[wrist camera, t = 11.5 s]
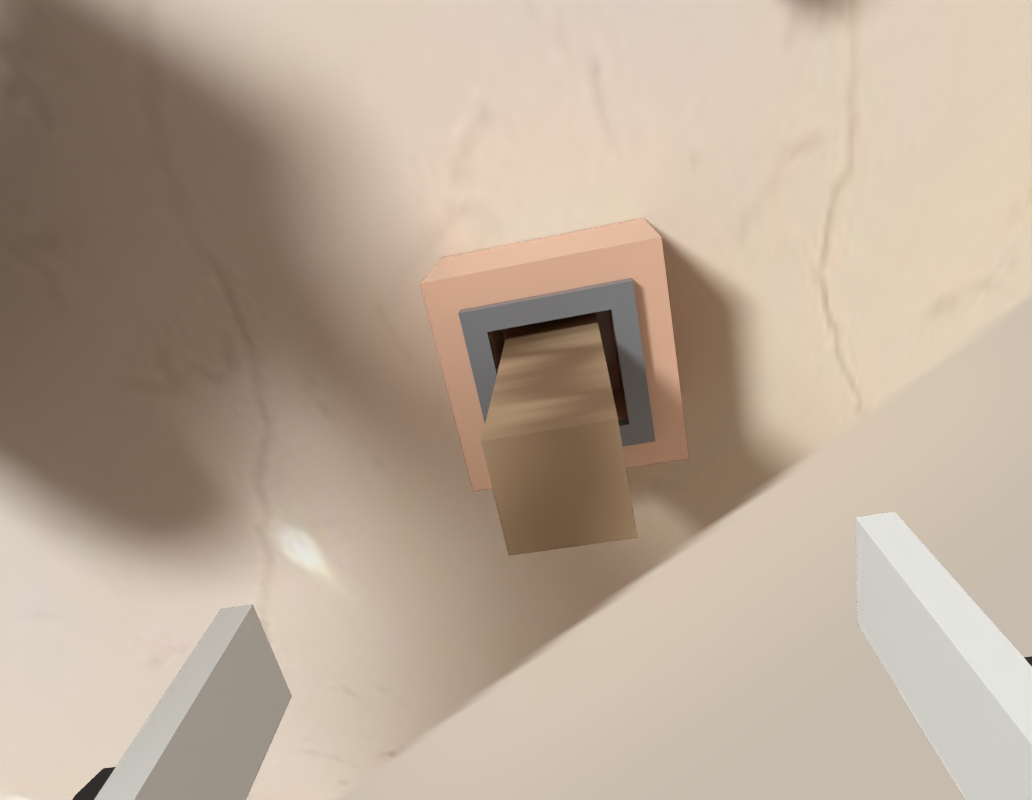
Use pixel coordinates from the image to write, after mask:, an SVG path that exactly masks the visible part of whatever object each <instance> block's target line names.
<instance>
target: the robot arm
mask: <svg viewBox="0 0 1032 800" xmlns="http://www.w3.org/2000/svg"><path fill="white" fill-rule="evenodd" d="M855 528H856V529H855V530H856V531H855V532H856V574H857V575H856V577H857V619H858V620H857V622H858V626H859V627H860V629H861V631H862V632H863V634H864V636H865V637H866V639H867V640H868V642H869V644H870V645H871V647H872V648H873V650H874V652H875V653H876V655H877V657H878V658H879V660H880V662H881V663H882V665H883V666H884V668H885V670H886V671H887V673H888V674H889V676H890V678H891V679H892V681H893V683H894V684H895V686H896V687H897V689H898V691H899V692H900V694H901V696H902V697H903V699H904V701H905V702H906V704H907V705H908V707H909V709H910V710H911V712H912V714H913V715H914V717H915V718H916V720H917V721H918V723H919V725H920V727H921V728H922V729H923V731H924V733H925V735H926V736H927V738H928V740H929V741H930V743H931V744H932V746H933V748H934V749H935V751H936V752H937V754H938V756H939V757H940V759H941V761H942V762H943V764H944V766H945V767H946V769H947V770H948V772H949V774H950V775H951V777H952V778H953V780H954V782H955V783H956V785H957V787H958V788H959V790H960V791H961V793H962V795H963V796H964V798H965V800H1032V657H1025V658H1024V657H1023V656H1022V655H1021V654H1020V653H1019V652H1018V651H1017V649H1016V648H1015V647H1014V646H1013V645H1012V644H1011V643H1010V642H1009V640H1008V639H1007V638H1006V637H1005V636H1004V635H1003V634H1002V633H1001V631H1000V630H999V629H998V628H997V627H996V626H995V625H994V624H993V623H992V621H991V620H990V619H989V618H988V617H987V616H986V615H985V613H983V611H982V610H981V609H980V608H979V607H978V605H977V604H976V603H975V602H974V601H973V600H972V599H971V598H970V596H969V595H968V594H967V593H966V592H965V591H964V590H963V589H962V587H961V586H960V585H959V584H958V583H957V582H956V581H955V580H954V579H953V578H952V576H951V575H950V574H949V573H948V572H947V571H946V569H945V568H944V567H943V566H942V565H941V564H940V563H939V561H938V560H937V559H936V558H935V557H934V556H933V555H932V554H931V552H930V551H929V550H928V549H927V548H926V547H925V546H924V545H923V543H922V542H921V541H920V540H919V539H918V538H917V537H916V536H915V535H914V533H913V532H912V531H911V530H910V529H909V528H908V526H906V524H905V523H904V522H903V521H902V520H901V519H900V517H899V516H898V515H897V514H896V513H895V512H889V513H882V514H875V515H868V516H861V517H855ZM291 697H292V696H291V693H290V691H289V689H288V686H287V684H286V682H285V679H284V677H283V675H282V672H281V670H280V668H279V665H278V663H277V660H276V658H275V656H274V653H273V651H272V649H271V646H270V644H269V642H268V639H267V637H266V635H265V632H264V630H263V628H262V625H261V623H260V620H259V618H258V616H257V613H256V611H255V609H254V606H253V604H252V605H245V606H238V607H231V608H224V609H221V610H220V611H219V613H218V614H217V616H216V617H215V619H214V620H213V622H212V623H211V625H210V626H209V628H208V629H207V631H206V632H205V634H204V635H203V637H202V638H201V640H200V641H199V643H198V644H197V646H196V647H195V649H194V650H193V652H192V653H191V655H190V656H189V658H188V659H187V661H186V662H185V664H184V665H183V667H182V668H181V670H180V671H179V673H178V674H177V676H176V677H175V679H174V680H173V682H172V683H171V685H170V686H169V688H168V689H167V691H166V692H165V694H164V695H163V697H162V698H161V700H160V701H159V703H158V704H157V706H156V707H155V709H154V710H153V712H152V713H151V715H150V716H149V718H148V719H147V721H146V722H145V724H144V725H143V727H142V728H141V730H140V731H139V733H138V734H137V736H136V737H135V739H134V740H133V742H132V743H131V745H130V746H129V748H128V749H127V751H126V752H125V754H124V755H123V757H122V758H121V760H120V762H119V763H118V765H117V766H116V767H112V768H104V769H102V770H101V771H100V772H99V773H98V774H97V775H96V776H95V777H94V778H93V779H92V780H91V781H90V782H89V783H88V784H87V785H86V786H85V787H83V788H82V789H81V790H80V791H79V792H78V793H77V794H76V795H75V797H74V798H73V800H246V798H247V796H248V794H249V792H250V789H251V787H252V785H253V783H254V780H255V778H256V776H257V773H258V771H259V769H260V767H261V764H262V762H263V760H264V758H265V755H266V753H267V751H268V749H269V746H270V744H271V742H272V740H273V737H274V735H275V733H276V731H277V728H278V726H279V724H280V722H281V719H282V717H283V715H284V713H285V710H286V708H287V706H288V703H289V701H290V699H291Z"/></svg>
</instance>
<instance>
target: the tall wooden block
mask: <svg viewBox="0 0 1032 800" xmlns="http://www.w3.org/2000/svg"><path fill="white" fill-rule="evenodd" d="M481 443H482V447H483V451H484V456H485V460H486V464H487V468H488V472H489V476H490V480H491V484H492V488H493V492H494V497H495V501H496V505H497V509H498V513H499V517H500V521H501V525H502V529H503V533H504V538H505V542H506V546H507V550H508V554H509V555H516V554H523V553H531V552H538V551H545V550H552V549H559V548H566V547H573V546H581V545H588V544H595V543H602V542H609V541H616V540H624V539H631V538H637V533H636V527H635V521H634V515H633V509H632V502H631V496H630V490H629V484H628V478H627V472H626V465H625V459H624V453H623V447H622V441H621V434H620V428H619V422H618V417H617V412H616V407H615V402H614V398H613V393H612V388H611V383H610V378H609V374H608V369H607V364H606V359H605V355H604V350H603V345H602V340H601V335H600V331H599V326H598V321H597V316H596V312H594V313H589V314H583V315H578V316H572V317H567V318H561V319H556V320H550V321H545V322H539V323H534V324H528V325H523V326H517V327H512V328H508V330H507V334H506V339H505V343H504V347H503V351H502V355H501V360H500V364H499V368H498V372H497V376H496V380H495V385H494V389H493V393H492V397H491V401H490V406H489V410H488V414H487V418H486V422H485V426H484V431H483V435H482V439H481Z"/></svg>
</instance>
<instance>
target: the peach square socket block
mask: <svg viewBox="0 0 1032 800" xmlns="http://www.w3.org/2000/svg"><path fill="white" fill-rule="evenodd" d="M420 285H421V289H422V293H423V297H424V301H425V305H426V309H427V313H428V317H429V321H430V324H431V328H432V332H433V336H434V340H435V344H436V348H437V352H438V356H439V360H440V364H441V367H442V371H443V375H444V379H445V383H446V387H447V391H448V395H449V399H450V403H451V407H452V410H453V414H454V418H455V422H456V426H457V430H458V434H459V438H460V442H461V446H462V450H463V453H464V457H465V461H466V465H467V469H468V473H469V477H470V481H471V485H472V489H473V491H479V490H486V489H492V484H491V480H490V476H489V472H488V468H487V464H486V460H485V456H484V451H483V447H482V443H481V439H482V435H483V431H484V426H485V422H486V418H487V414H488V410H489V406H490V401H491V397H492V393H493V389H494V385H495V380H496V376H497V372H498V368H499V364H500V360H501V355H502V351H503V347H504V343H505V339H506V334H507V330H508V328H512V327H517V326H523V325H528V324H534V323H539V322H545V321H550V320H556V319H561V318H567V317H572V316H578V315H583V314H589V313H594V312H596V316H597V321H598V326H599V331H600V335H601V340H602V345H603V350H604V355H605V359H606V364H607V369H608V374H609V378H610V383H611V388H612V393H613V398H614V402H615V407H616V412H617V417H618V422H619V428H620V434H621V441H622V447H623V453H624V459H625V465H626V468H630V467H637V466H643V465H650V464H656V463H663V462H669V461H676V460H682V459H689V455H688V447H687V439H686V431H685V423H684V415H683V407H682V399H681V391H680V383H679V374H678V366H677V358H676V350H675V342H674V334H673V326H672V318H671V310H670V302H669V293H668V285H667V277H666V269H665V261H664V253H663V245H662V237H661V236H660V235H659V234H658V232H657V231H656V230H655V229H654V228H653V227H652V226H651V225H650V224H649V223H648V222H647V221H646V220H645V219H644V218H640V219H635V220H630V221H625V222H620V223H615V224H610V225H605V226H600V227H595V228H589V229H584V230H579V231H574V232H569V233H564V234H559V235H554V236H549V237H544V238H539V239H534V240H529V241H524V242H519V243H514V244H509V245H504V246H498V247H493V248H488V249H483V250H478V251H473V252H468V253H463V254H458V255H453V256H448V257H443V258H442V259H441V260H440V261H439V262H438V263H437V264H436V266H435V267H434V268H433V269H432V270H431V271H430V272H429V274H428V275H427V276H426V277H425V278H424V279H423V281H422V282H421V283H420Z"/></svg>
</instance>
